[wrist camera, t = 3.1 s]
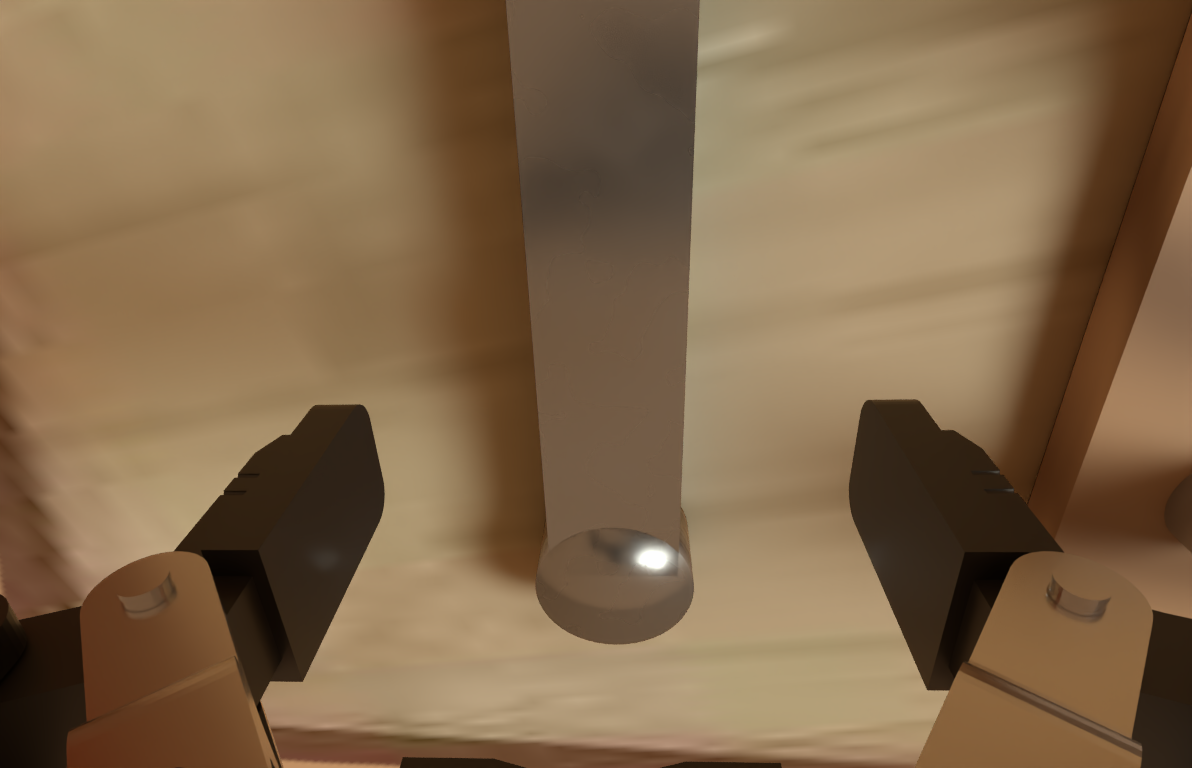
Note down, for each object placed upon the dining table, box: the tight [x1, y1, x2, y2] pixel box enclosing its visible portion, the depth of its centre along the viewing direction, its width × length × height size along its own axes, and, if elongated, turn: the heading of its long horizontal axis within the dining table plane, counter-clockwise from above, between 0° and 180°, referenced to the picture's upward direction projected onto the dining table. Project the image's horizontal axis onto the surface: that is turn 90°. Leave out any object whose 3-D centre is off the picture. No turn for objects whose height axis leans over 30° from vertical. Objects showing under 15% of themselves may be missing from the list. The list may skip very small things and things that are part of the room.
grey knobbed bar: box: [506, 0, 699, 644], centre depth 17 cm, size 21×4×2 cm, turn 2°
